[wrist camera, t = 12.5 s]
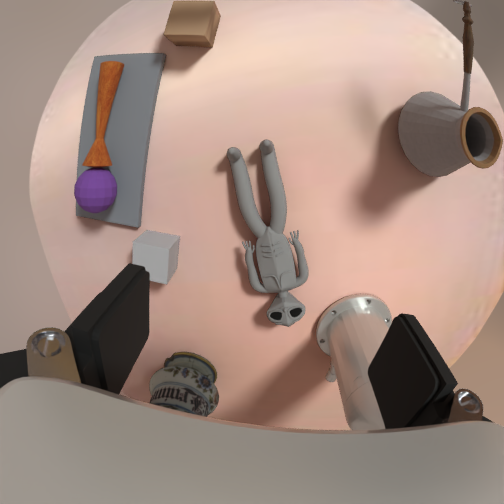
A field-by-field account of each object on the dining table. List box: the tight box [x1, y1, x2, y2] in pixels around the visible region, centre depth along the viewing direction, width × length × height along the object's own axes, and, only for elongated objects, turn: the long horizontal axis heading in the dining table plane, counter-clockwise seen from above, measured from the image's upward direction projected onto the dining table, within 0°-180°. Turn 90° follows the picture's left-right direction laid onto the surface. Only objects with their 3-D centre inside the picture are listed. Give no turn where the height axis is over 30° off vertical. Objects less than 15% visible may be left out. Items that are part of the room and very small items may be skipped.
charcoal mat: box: [76, 53, 166, 227], centre depth 34 cm, size 24×11×1 cm, turn 169°
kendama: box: [74, 61, 124, 213], centre depth 31 cm, size 6×6×20 cm
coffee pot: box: [398, 0, 503, 177], centre depth 23 cm, size 21×12×15 cm, turn 7°
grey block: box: [132, 230, 180, 284], centre depth 38 cm, size 5×5×5 cm
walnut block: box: [164, 1, 221, 47], centre depth 26 cm, size 5×5×5 cm
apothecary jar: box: [149, 352, 219, 417], centre depth 41 cm, size 12×12×18 cm
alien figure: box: [227, 140, 308, 327], centre depth 37 cm, size 8×5×25 cm
